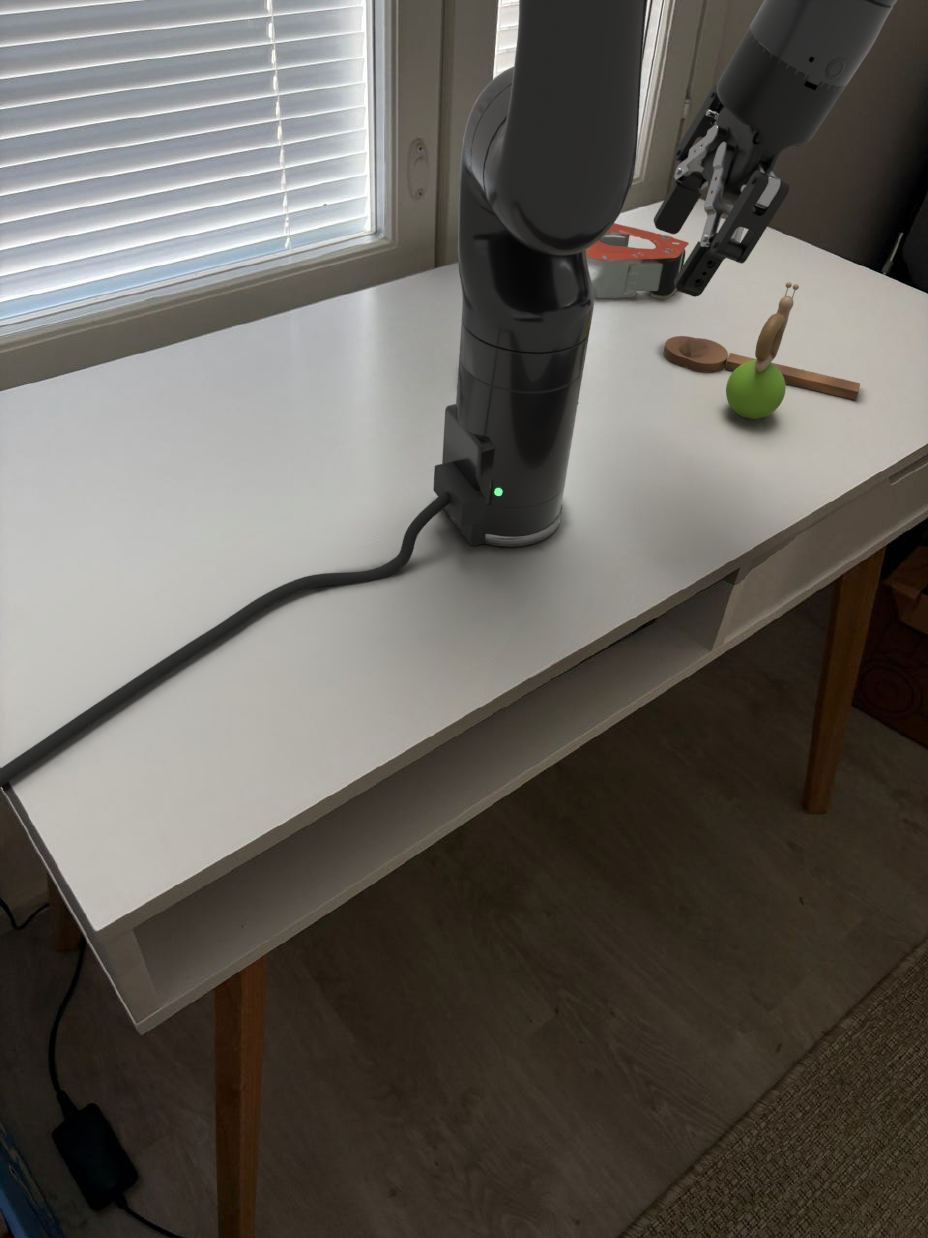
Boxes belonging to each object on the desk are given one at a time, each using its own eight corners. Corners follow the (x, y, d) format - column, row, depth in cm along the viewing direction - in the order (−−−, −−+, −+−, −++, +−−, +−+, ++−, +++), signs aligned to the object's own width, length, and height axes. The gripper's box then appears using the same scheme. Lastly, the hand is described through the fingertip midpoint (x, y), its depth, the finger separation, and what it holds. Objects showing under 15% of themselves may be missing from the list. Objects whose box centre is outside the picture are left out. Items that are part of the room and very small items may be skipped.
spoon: (858, 383, 103) (861, 374, 102) (854, 408, 99) (857, 399, 99) (669, 339, 107) (671, 330, 107) (658, 361, 104) (660, 352, 103)
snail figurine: (785, 405, 99) (823, 289, 91) (767, 436, 95) (805, 318, 87) (732, 388, 101) (764, 273, 92) (712, 418, 97) (744, 301, 88)
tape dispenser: (537, 346, 107) (710, 322, 111) (540, 301, 103) (720, 278, 107) (492, 265, 119) (650, 245, 122) (493, 221, 115) (657, 202, 118)
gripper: (729, -16, 70) (616, 196, 81) (783, 76, 61) (648, 298, 72) (817, 26, 72) (696, 225, 83) (882, 119, 63) (736, 328, 75)
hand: (674, 259), depth 78 cm, fingers open, 8 cm apart
